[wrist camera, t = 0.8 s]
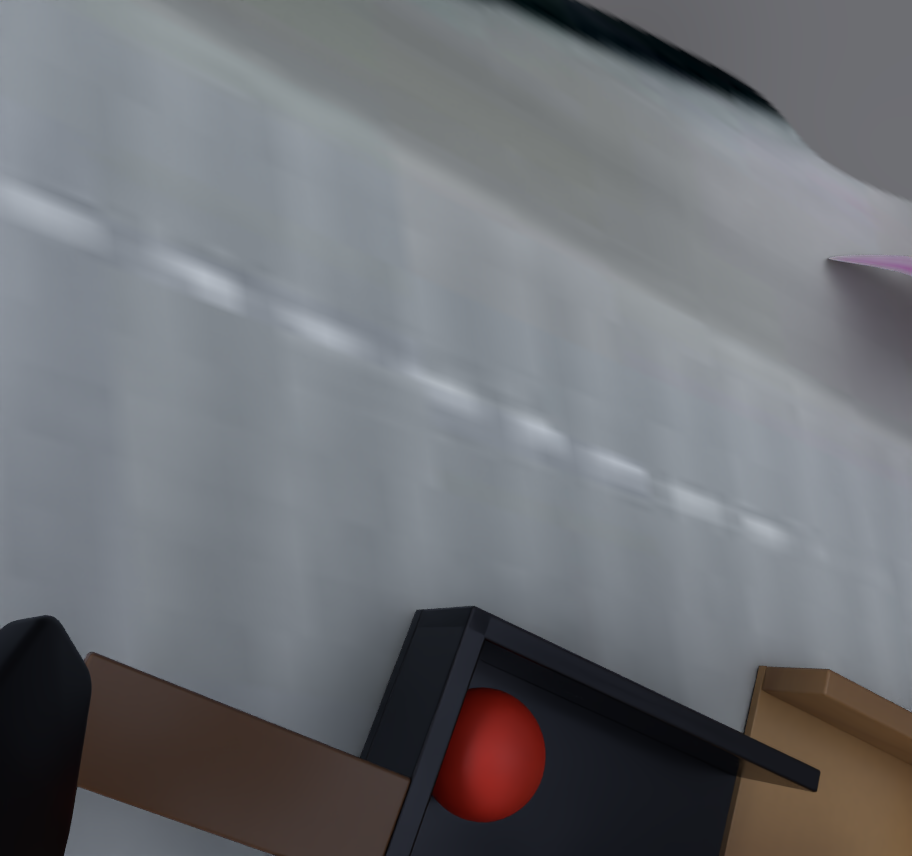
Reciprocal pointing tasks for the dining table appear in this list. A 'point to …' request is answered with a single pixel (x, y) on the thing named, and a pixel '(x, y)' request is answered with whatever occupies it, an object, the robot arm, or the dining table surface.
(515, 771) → the tomato
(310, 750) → the pan
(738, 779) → the tray
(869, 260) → the lily
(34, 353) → the dining table surface
